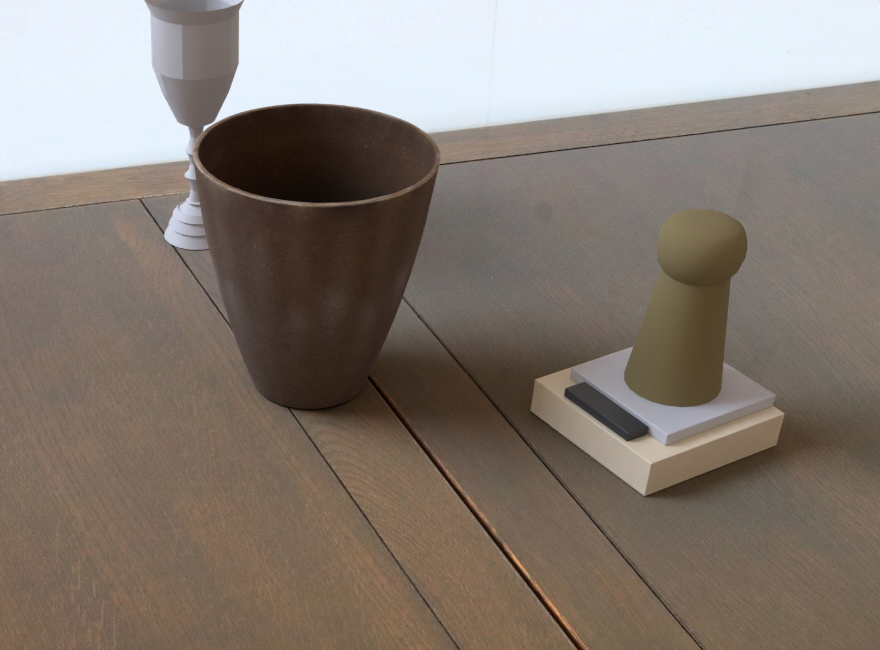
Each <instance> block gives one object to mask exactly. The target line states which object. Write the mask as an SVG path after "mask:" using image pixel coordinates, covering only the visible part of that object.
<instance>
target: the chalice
mask: <svg viewBox="0 0 880 650" xmlns="http://www.w3.org/2000/svg"><path fill="white" fill-rule="evenodd" d="M143 1H144V2H145V5H146V7H147V8H148V10H149V12H150V16H149V17H150V43H151V44H150V48H151V66H152V69H153V72H154V74H155V78H156V80H157V83H158V85H159V88H160V91H161V94H162V96H163V97H164V99H165V101H166V103H167V105H168V107H169V109H170V110H171V112H172V115H173V117H174V118H175V120H176V122H177V123H178V124H180V125H182V126H185V127H187V128H188V132H189V139H188V144H187V147H186V148H185V150H184V151H185V153H186V155H187V156H188V159H189V166H188V169H187V170H186V171H185V173H184V177H185V178H186V179H187V180H188V183H189V187H190V191H189V196H188V197H187V198H186V199H185V200H182V201H181V202H179V203H178V204H177V205H176V207H174V209H173V211H172V216H171V217H170V219H169V221H168V225H167V227H166V229H165V231H164V235H163V236H164V239H165V241H166V242H168V244H170V245H172V246H174V247H176V248H179V249H183V250H184V249H185V250H192V251H201V250H202V251H203V250H209V247H208V243H207V238H206V233H205V229H204V224H203V219H202V213H201V207H200V201H199V195H198V189H197V182H196V175H195V168H194V161H193V153H192V150H193V146H194V144H195V141H196V140H197V138H198V137H199V135H200V134H201V133H202V132H203V131H204V129H205V127H206V126H210V125H212V124H214V122H215V121H216V119H217V117H218V115H219V113H220V111H221V109H222V107H223V105H224V103H225V101H226V99H227V97H228V95H229V93H230V91H231V88H232V85H233V82H234V79H235V76H236V73H237V69H238V67H239V64H240V9H241V8H242V6H243V4H244V1H245V0H143Z"/></svg>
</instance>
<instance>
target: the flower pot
mask: <svg viewBox="0 0 880 650" xmlns="http://www.w3.org/2000/svg"><path fill="white" fill-rule="evenodd" d="M192 153H193V161H194V168H195V175H196V182H197V189H198V195H199V201H200V207H201V213H202V219H203V224H204V229H205V233H206V238H207V243H208V247H209V249H208V251H209V255H210V259H211V264H212V268H213V271H214V275H215V279H216V282H217V285H218V290H219V293H220V296H221V300H222V304H223V307H224V310H225V313H226V316H227V318H228V319H227V320H228V322H229V324H230V329H231V330H232V334H233V336H234V339H235V342H236V344H237V347H238V349H239V352H240V355H241V357H242V360H243V362H244V365H245V368H246V369H247V371H248V374H249V376H250V378H251V381H252V383H253V384H254V387H255V389H256V391H258V392H259V394H260V395H262V396H263V397H265V398H266V399H267V400H269V401H271V402H273V403H276V404H279V405H281V406H284V407H289V408H295V409H302V410H303V409H305V410H316V409H317V410H318V409H319V410H320V409H326V408H331V407H334V406H339V405H341V404H344V403H346V402H349V401H350V400H352V399H354V398H355V397H356V396H357V395H358V394H360V392H361V391H362V389H363V387H364V385H365V383H366V382H367V381H368V378H369V376H370V374H371V372H372V370H373V367H374V366H375V364H376V361H377V359H378V357H379V355H380V354H381V351H382V349H383V346H384V344H385V342H386V340H387V337H388V335H389V333H390V330H391V328H392V327H393V326H392V325H393V323H394V321H395V318H396V316H397V313H398V311H399V308H400V305H401V303H402V299H403V297H404V294H405V292H406V289H407V286H408V283H409V280H410V277H411V274H412V271H413V268H414V265H415V262H416V259H417V257H418V252H419V249H420V245H421V242H422V238H423V235H424V231H425V227H426V224H427V220H428V216H429V215H428V214H429V210H430V208H431V203H432V199H433V193H434V191H435V190H434V189H435V185H436V181H437V177H438V172H439V167H440V164H441V151H440V149H439V146H438V144H437V143H436V142H435V140H434V138H433V137H431V136H430V135H429V134H428V133H427V132H426V131H424V130H423V129H421V128H420V127H418V126H417V125H414V124H413V123H411V122H409V121H408V120H404V119H402V118H399V117H397V116H394V115H392V114H388V113H385V112H381V111H377V110H374V109H369V108H364V107H360V106H359V107H358V106H352V105H345V104H335V103H318V102H317V103H315V102H314V103H313V102H311V103H287V104H285V103H284V104H277V105H269V106H262V107H258V108H253V109H252V108H251V109H248V110H244V111H241V112H237V113H234V114H231V115H229V116H227V117H225V118H222V119H220V120H218V121H216V122H215V123H214V122H213V123H212V124H210V125H209V126H208V127H207V128H206V129H203V132H202V133H201V134H200V135H199V137H198V138H197V140H196V141H195V144H194V146H193V150H192Z"/></svg>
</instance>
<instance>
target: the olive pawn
mask: <svg viewBox="0 0 880 650" xmlns="http://www.w3.org/2000/svg"><path fill="white" fill-rule="evenodd" d="M656 238H657V240H656V243H655V244H656V246H655V247H656V260H657V262H658V264H659V266H660V269H659V272H658V275H657V278H656V281H655V283H654V287H653V289H652V292H651V295H650V298H649V301H648V304H647V306H646V309H645V312H644V315H643V317H642V321H641V322H640V323H641V324H640V326H639V328H638V329H639V330H638V332H637V334H636V338H635V341H634V343H633V346H632V347H633V349H632V352H631V355H630V357H629V360H628V363H627V366H626V369H625V372H624V381H625V382H626V384H627V386H628V387H629V389H631V390H632V391H633V392H634V393H636V394H637V395H638V396H640V397H642V398H645V399H647V400H649V401H651V402H654V403H658V404H662V405H666V406H676V407H690V406H698V405H702V404H705V403H708V402H710V401H712V400H713V399H715V398H716V397H717V396H718V394H719V393H720V391H721V386H722V374H723V363H724V360H725V351H726V340H727V339H726V338H727V327H728V316H729V304H730V293H731V281H732V278H733V277H734V276H735V275H736V274H737V273H738V272H739V270H740V269H741V267H742V265H743V263H744V261H745V259H746V257H747V252H748V249H749V248H748V236H747V232H746V229H745V227H744V225H743V224H742V223H741V222H740V221H739V220H738V219H736V218H734V217H733V216H731V215H730V214H728V213H725V212H723V211H720V210H715V209H711V208H689V209H686V210H681V211H677V212H676V213H674V214H672V215H671V216H670V217H669V218H668V219H666V220H665V222H664V223H663V225H662V226H661V227H660V230H659V233H658V234H657V237H656Z"/></svg>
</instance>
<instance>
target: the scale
mask: <svg viewBox="0 0 880 650" xmlns="http://www.w3.org/2000/svg"><path fill="white" fill-rule="evenodd" d="M632 349H633V346H630V347H627V348H624V349H621V350H617V351H615V352H612V353H609V354H607V355H604V356H603V355H602V356H601V357H598V358H595V359H592V360H588V361H585V362H583V363H580V364H577V365H574V366H571V367H568V368H564V369H561V370H559V371H556V372H553V373H550V374H547V375H544V376H541V377H538V378H535V379H534V383H533V384H534V386H533V390H532V396H531V397H532V398H531V402H530V412H532V413H533V415H535V416H536V417H538V418H539V419H540V420H542V421H543V422H544V423H546V424H547V425H549V426H550V427H551V428H552V429H554V430H555V431H557V432H558V433H559V434H560V435H562V436H563V437H564V438H566V439H567V440H568V441H570V442H571V443H572V444H574V445H575V446H576V447H578V448H579V449H580V450H582V451H583V452H585V453H586V454H587V455H588V456H590V457H591V458H592V459H594V460H595V461H597V463H599V464H601V465H602V466H603V467H605V468H606V469H607V470H609V471H610V472H611V473H613V474H614V476H616V477H618V478H619V479H620V480H622V481H623V482H625V483H626V484H627V485H628V486H630V487H631V488H632V489H634V490H635V491H636V492H637V493H639V494H641V495H642V496H643V497H647V496H649V495H651V494H654V493H657V492H660V491H662V490H664V489H668V488H670V487H672V486H674V485H678V484H680V483H682V482H685V481H687V480H690V479H692V478H695V477H698V476H701V475H703V474H706V473H708V472H711V471H713V470H716V469H719V468H721V467H724V466H727V465H729V464H731V463H735V462H736V461H739V460H742V459H744V458H747V457H749V456H753V455H755V454H757V453H760V452H763V451H765V450H768V449H770V448H773V447H775V446H777V444H778V440H779V437H780V432H781V429H782V426H783V422H784V418H785V415H786V414H785V412H783V411H782V410H780V409H778V408H777V407H775V406H774V404H775V401H776V396H777V395H776V394H775V393H773V392H772V391H770V390H769V389H767V388H765V387H764V386H762V384H761V385H760V384H759V383H757V382H756V381H755V380H753V379H751V378H750V377H748V376H747V375H745V374H743V373H742V372H740V371H738V370H737V369H735V368H734V367H733V366H731V365H729V364H728V363H726V362H724V363H723V374H722V386H721V391H720V393H719V394H718V396H717V397H716V398H715V399H713V400H712V401H710V402H708V403H705V404H702V405H698V406H690V407H676V406H666V405H662V404H658V403H654V402H651V401H649V400H647V399H645V398H642V397H640V396H638V395H637V394H636V393H634V392H633V391H632V390H631V389H629V387H628V386H627V384H626V382H625V381H624V372H625V369H626V366H627V363H628V360H629V357H630V355H631V352H632Z"/></svg>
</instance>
